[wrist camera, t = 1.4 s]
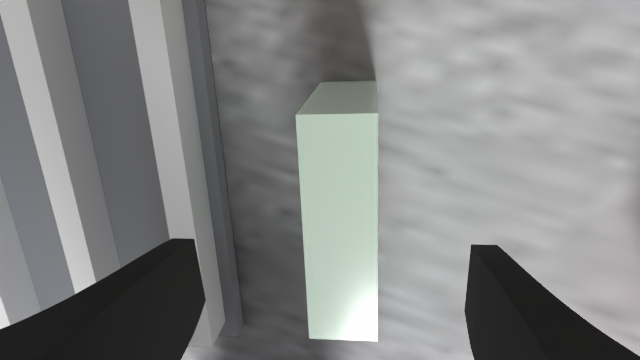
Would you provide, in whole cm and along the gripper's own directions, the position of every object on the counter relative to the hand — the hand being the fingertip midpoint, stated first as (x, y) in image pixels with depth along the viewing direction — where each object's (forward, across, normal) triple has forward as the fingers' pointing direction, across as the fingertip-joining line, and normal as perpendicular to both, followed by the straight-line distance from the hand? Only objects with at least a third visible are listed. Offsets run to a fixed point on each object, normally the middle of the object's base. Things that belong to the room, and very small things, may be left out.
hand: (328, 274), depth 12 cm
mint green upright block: (+10, 0, +1) cm, 10 cm away
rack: (+9, +15, +1) cm, 18 cm away
